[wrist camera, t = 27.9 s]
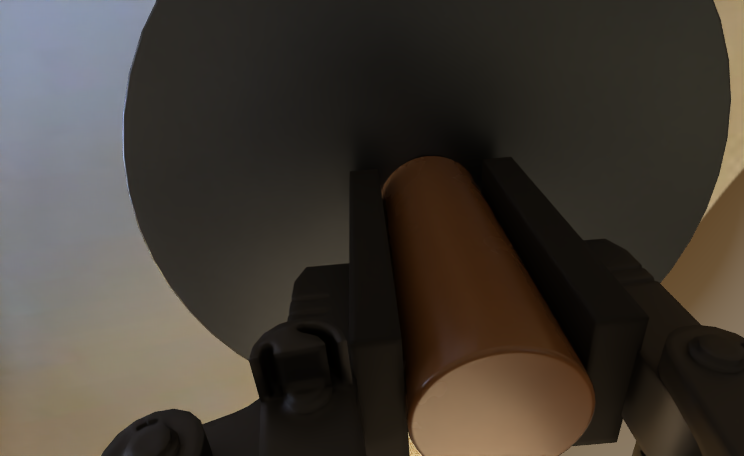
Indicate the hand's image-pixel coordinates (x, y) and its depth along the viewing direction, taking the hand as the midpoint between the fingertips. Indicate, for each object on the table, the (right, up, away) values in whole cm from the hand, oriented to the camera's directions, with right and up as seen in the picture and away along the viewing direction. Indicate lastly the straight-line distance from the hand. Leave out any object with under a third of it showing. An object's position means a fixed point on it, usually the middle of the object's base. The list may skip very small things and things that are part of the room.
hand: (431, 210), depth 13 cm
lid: (0, +1, +1) cm, 1 cm away
